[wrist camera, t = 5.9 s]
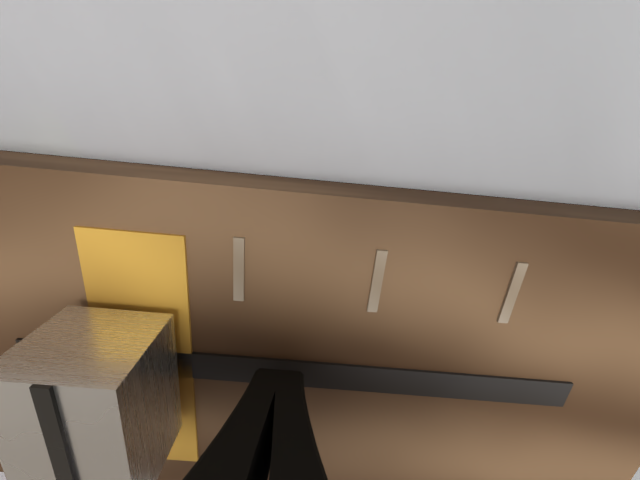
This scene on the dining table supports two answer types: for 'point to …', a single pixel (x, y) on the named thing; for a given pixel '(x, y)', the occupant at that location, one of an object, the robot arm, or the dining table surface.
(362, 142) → the dining table surface
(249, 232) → the fader console
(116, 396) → the fader knob
